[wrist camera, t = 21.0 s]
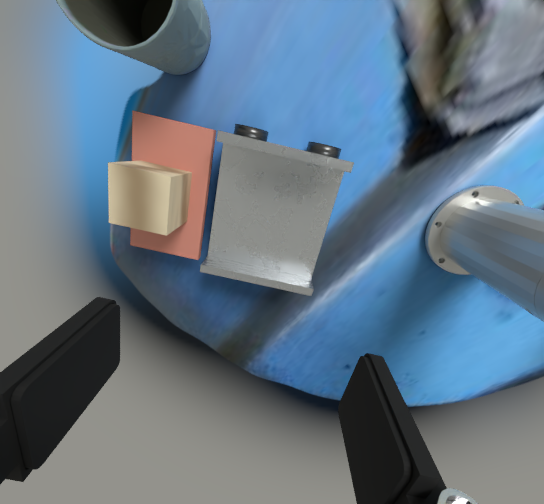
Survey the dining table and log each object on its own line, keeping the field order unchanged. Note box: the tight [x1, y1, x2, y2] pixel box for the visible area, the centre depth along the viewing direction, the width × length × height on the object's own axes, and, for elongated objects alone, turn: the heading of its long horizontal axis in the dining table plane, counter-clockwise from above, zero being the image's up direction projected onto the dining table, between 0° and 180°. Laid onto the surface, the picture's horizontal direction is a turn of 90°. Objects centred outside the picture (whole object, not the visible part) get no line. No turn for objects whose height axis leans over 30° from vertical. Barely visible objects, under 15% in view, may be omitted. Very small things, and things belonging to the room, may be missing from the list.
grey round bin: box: [56, 0, 211, 75], centre depth 24 cm, size 10×10×12 cm
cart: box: [200, 124, 354, 296], centre depth 33 cm, size 14×18×8 cm
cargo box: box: [108, 161, 192, 236], centre depth 28 cm, size 6×6×6 cm
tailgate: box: [130, 111, 216, 260], centre depth 32 cm, size 1×16×9 cm
